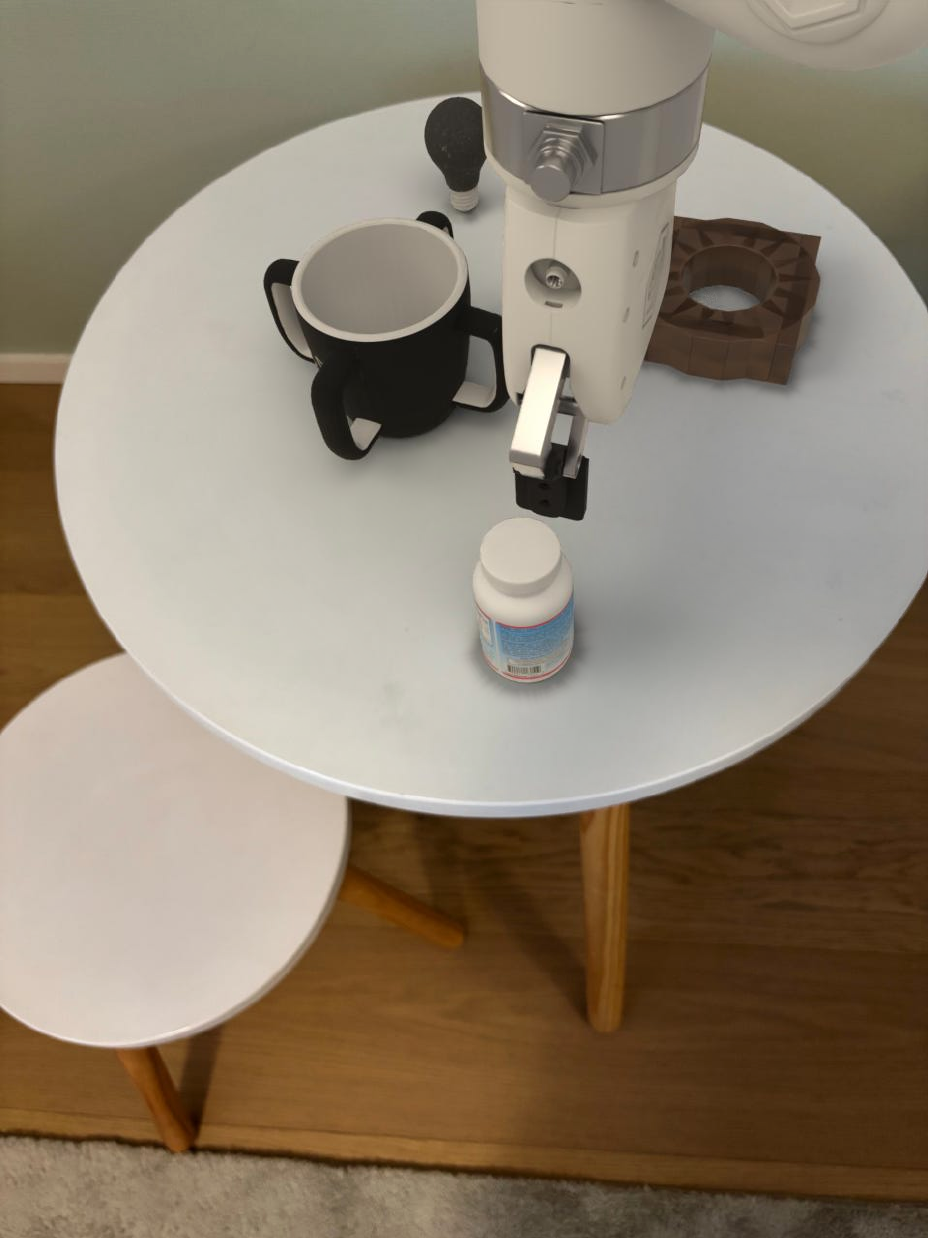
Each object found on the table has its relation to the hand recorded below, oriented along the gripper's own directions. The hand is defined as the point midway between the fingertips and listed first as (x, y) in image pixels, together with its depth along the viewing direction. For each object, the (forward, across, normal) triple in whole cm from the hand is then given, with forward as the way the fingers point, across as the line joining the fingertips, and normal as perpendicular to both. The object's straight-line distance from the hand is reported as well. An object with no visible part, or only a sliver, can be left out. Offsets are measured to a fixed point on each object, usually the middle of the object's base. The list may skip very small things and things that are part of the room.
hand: (579, 430), depth 50 cm
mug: (+22, +18, +18) cm, 34 cm away
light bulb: (+22, +40, +20) cm, 50 cm away
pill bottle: (+22, -1, +3) cm, 22 cm away
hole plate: (+21, +32, -4) cm, 38 cm away
